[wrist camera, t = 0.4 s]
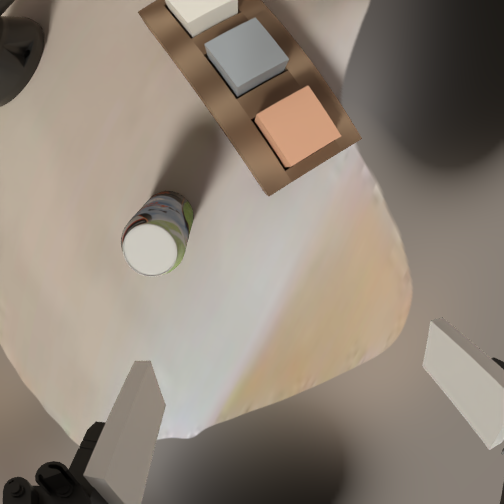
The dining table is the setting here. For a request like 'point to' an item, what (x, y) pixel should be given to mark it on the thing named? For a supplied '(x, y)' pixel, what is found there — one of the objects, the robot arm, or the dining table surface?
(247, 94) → the console
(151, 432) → the robot arm
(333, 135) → the terracotta key
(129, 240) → the beverage can
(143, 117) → the dining table surface
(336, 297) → the dining table surface
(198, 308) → the dining table surface
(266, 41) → the slate key
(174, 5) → the offwhite key
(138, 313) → the dining table surface
